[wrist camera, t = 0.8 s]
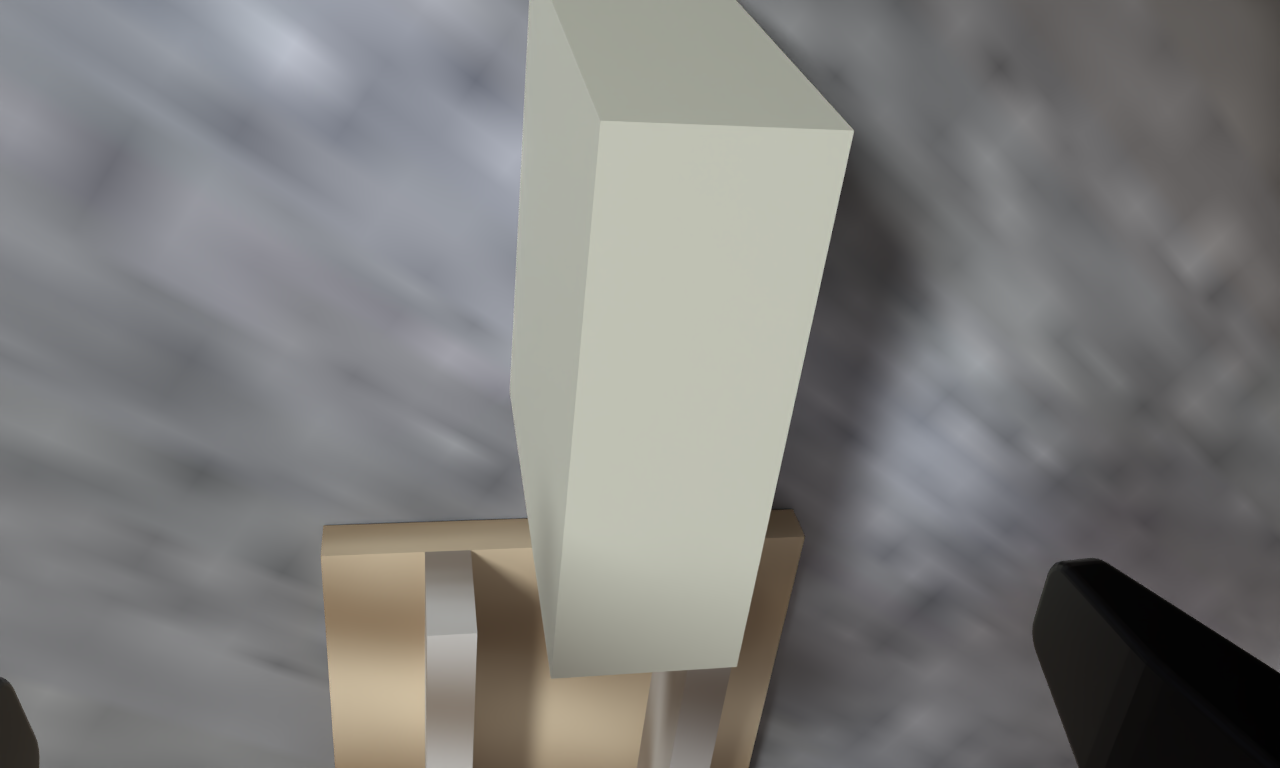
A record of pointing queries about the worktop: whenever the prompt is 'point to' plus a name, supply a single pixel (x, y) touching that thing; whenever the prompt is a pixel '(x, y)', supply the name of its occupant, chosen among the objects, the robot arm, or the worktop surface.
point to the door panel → (661, 318)
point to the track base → (517, 660)
